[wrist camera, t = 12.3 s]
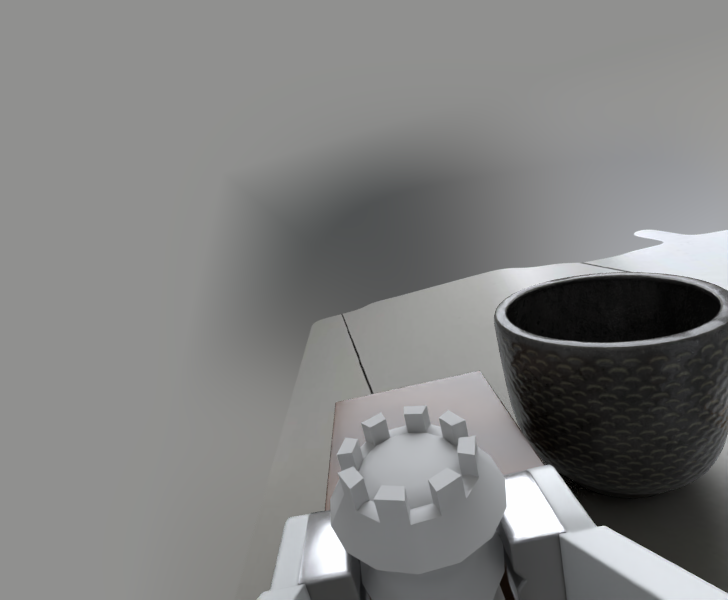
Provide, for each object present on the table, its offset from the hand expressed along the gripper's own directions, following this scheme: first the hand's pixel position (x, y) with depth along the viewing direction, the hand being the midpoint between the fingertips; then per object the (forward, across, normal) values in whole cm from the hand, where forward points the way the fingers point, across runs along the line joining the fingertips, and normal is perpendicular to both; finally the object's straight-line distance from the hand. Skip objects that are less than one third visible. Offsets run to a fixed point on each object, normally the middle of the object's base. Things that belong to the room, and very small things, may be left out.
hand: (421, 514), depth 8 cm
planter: (+18, -14, +17) cm, 29 cm away
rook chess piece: (-1, 0, +6) cm, 6 cm away
